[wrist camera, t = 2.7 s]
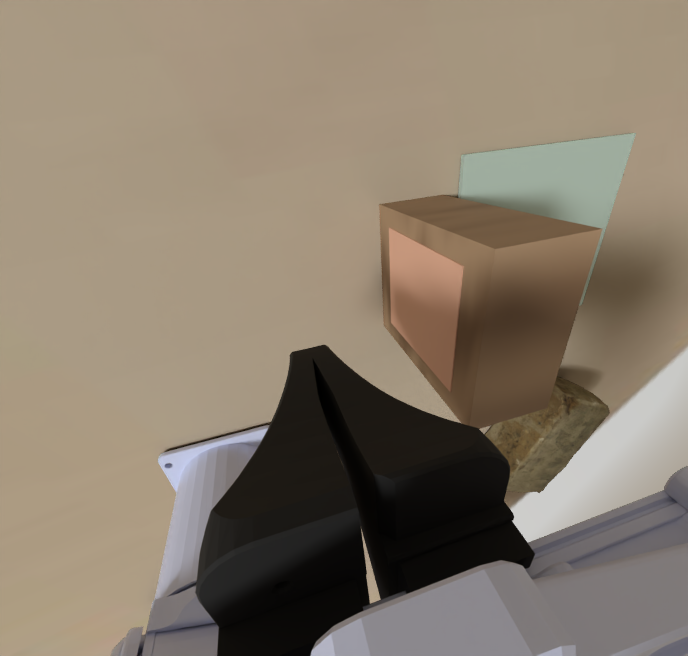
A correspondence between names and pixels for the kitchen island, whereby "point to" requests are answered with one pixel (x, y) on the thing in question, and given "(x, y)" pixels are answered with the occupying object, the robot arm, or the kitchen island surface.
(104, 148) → the kitchen island surface
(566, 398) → the stone block
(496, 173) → the mat
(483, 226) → the walnut block
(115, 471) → the kitchen island surface
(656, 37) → the kitchen island surface
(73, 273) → the kitchen island surface
